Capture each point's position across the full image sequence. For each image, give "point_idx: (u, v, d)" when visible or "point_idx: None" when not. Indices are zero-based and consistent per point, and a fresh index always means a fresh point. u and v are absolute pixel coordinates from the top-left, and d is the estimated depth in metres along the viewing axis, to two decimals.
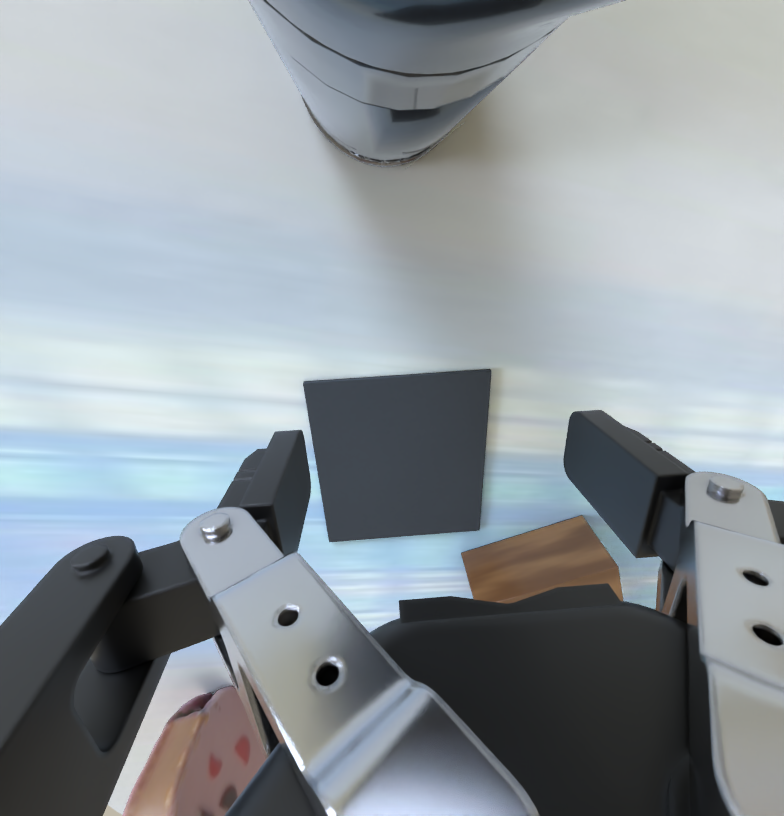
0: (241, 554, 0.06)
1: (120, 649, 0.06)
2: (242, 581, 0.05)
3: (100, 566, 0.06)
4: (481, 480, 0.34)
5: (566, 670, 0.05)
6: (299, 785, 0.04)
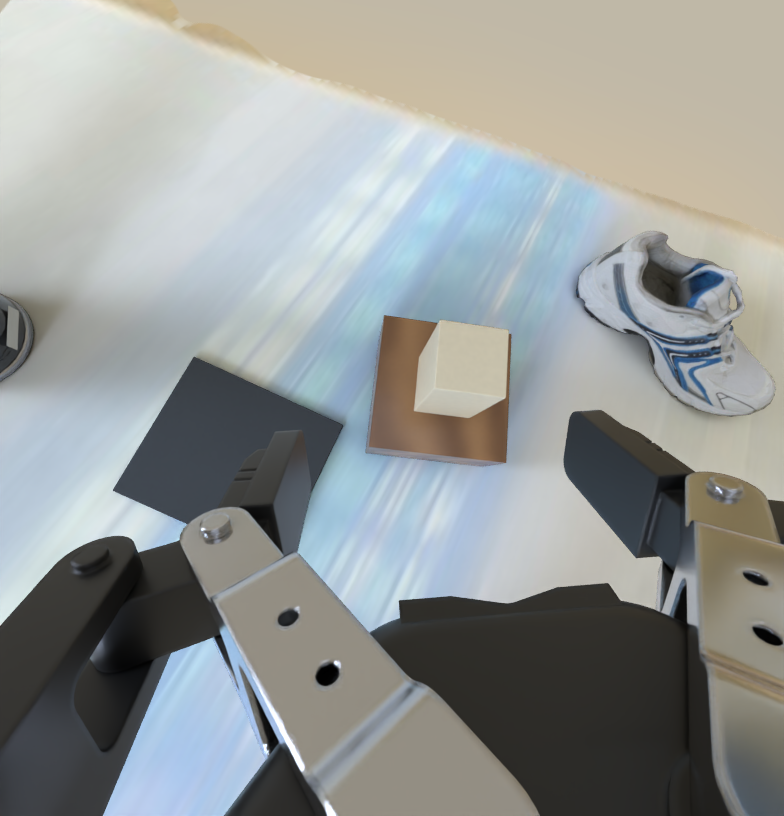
0: (241, 554, 0.06)
1: (120, 649, 0.06)
2: (242, 581, 0.05)
3: (100, 566, 0.06)
4: (288, 401, 0.38)
5: (566, 670, 0.05)
6: (299, 785, 0.04)
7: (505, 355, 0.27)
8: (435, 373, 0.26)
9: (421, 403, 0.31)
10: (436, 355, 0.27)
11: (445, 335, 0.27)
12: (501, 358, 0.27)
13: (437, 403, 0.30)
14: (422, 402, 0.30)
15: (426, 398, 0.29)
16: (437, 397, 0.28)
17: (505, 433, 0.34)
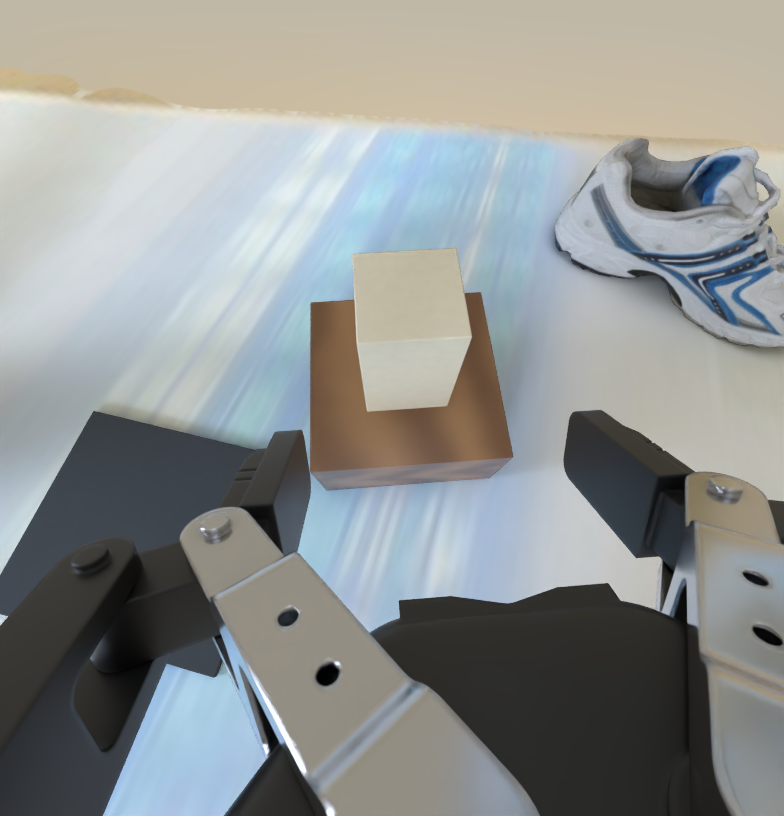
0: (241, 554, 0.06)
1: (120, 649, 0.06)
2: (242, 581, 0.05)
3: (100, 566, 0.06)
4: (215, 442, 0.29)
5: (566, 670, 0.05)
6: (299, 785, 0.04)
7: (458, 280, 0.18)
8: (356, 324, 0.17)
9: (365, 390, 0.21)
10: None
11: (363, 271, 0.18)
12: (453, 285, 0.18)
13: (385, 383, 0.20)
14: (364, 387, 0.21)
15: (363, 375, 0.19)
16: (375, 367, 0.19)
17: (502, 417, 0.24)
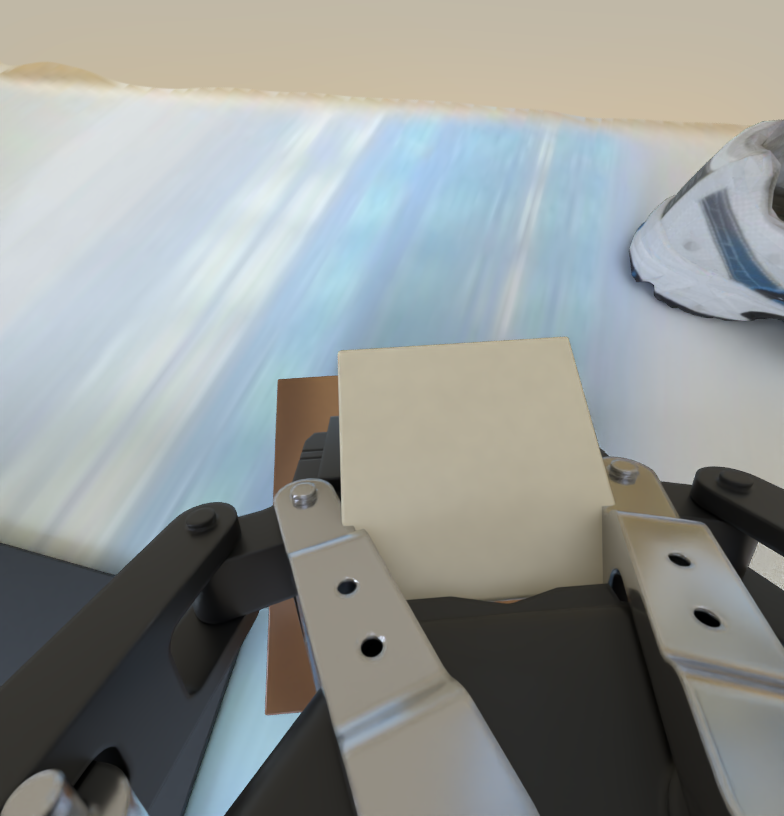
0: (334, 516, 0.07)
1: (215, 605, 0.07)
2: (315, 545, 0.06)
3: (211, 526, 0.07)
4: None
5: (566, 670, 0.05)
6: (333, 737, 0.04)
7: (583, 421, 0.08)
8: None
9: None
10: None
11: (361, 397, 0.08)
12: (573, 435, 0.08)
13: None
14: None
15: None
16: None
17: None
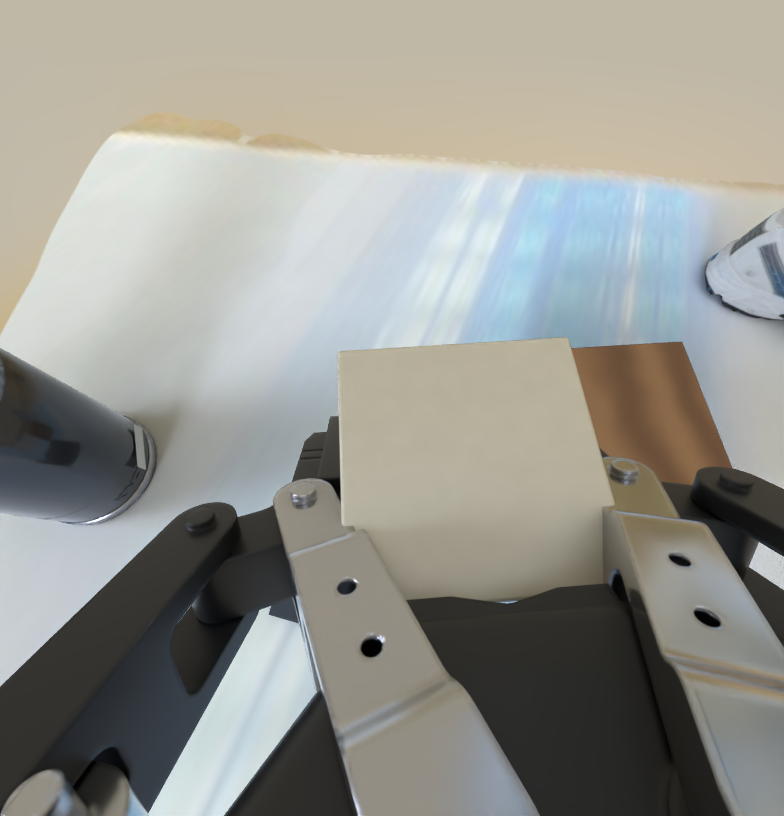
0: (334, 516, 0.07)
1: (215, 605, 0.07)
2: (314, 546, 0.06)
3: (210, 526, 0.07)
4: None
5: (566, 670, 0.05)
6: (333, 738, 0.04)
7: (583, 422, 0.08)
8: None
9: None
10: None
11: (361, 398, 0.08)
12: (573, 436, 0.08)
13: None
14: None
15: None
16: None
17: (724, 454, 0.28)
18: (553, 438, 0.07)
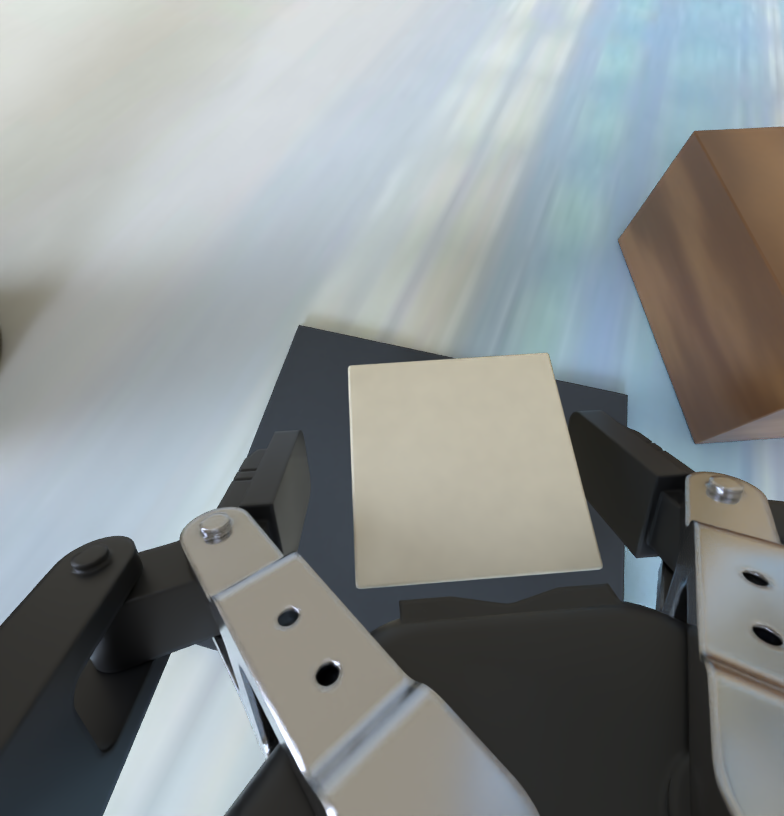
0: (241, 554, 0.06)
1: (120, 649, 0.06)
2: (242, 581, 0.05)
3: (100, 566, 0.06)
4: None
5: (566, 670, 0.05)
6: (299, 785, 0.04)
7: (560, 427, 0.09)
8: (355, 532, 0.08)
9: None
10: (352, 471, 0.09)
11: (368, 406, 0.09)
12: (550, 438, 0.09)
13: None
14: None
15: None
16: None
17: None
18: (533, 440, 0.09)
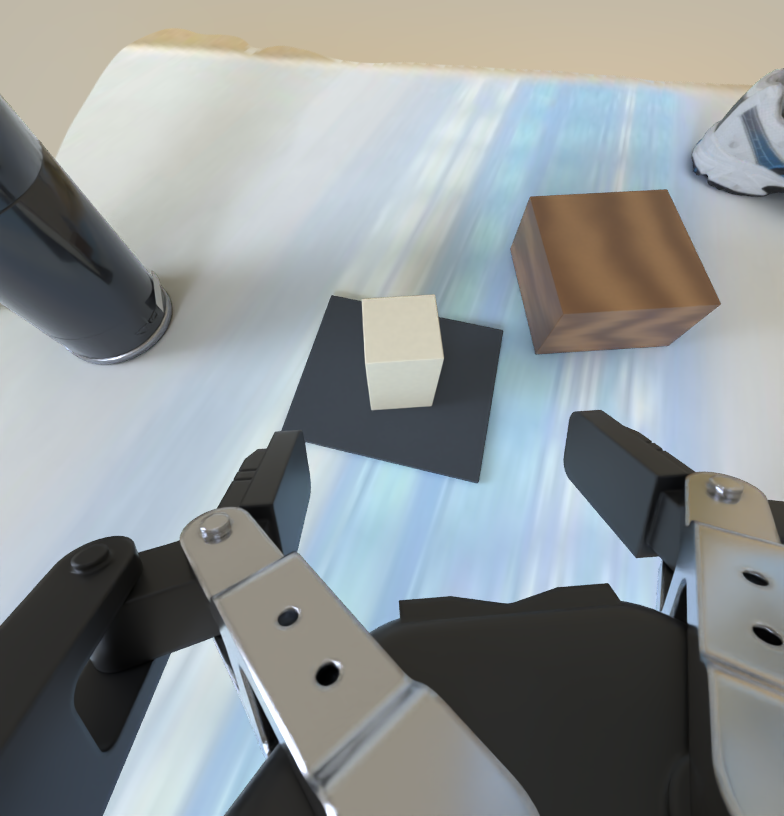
0: (241, 554, 0.06)
1: (120, 649, 0.06)
2: (242, 581, 0.05)
3: (100, 566, 0.06)
4: None
5: (566, 670, 0.05)
6: (299, 785, 0.04)
7: (435, 318, 0.26)
8: (364, 349, 0.25)
9: (370, 394, 0.29)
10: (363, 332, 0.25)
11: (369, 311, 0.26)
12: (432, 322, 0.26)
13: (384, 389, 0.28)
14: (369, 392, 0.28)
15: (369, 384, 0.27)
16: (378, 378, 0.26)
17: (706, 276, 0.30)
18: (426, 322, 0.25)
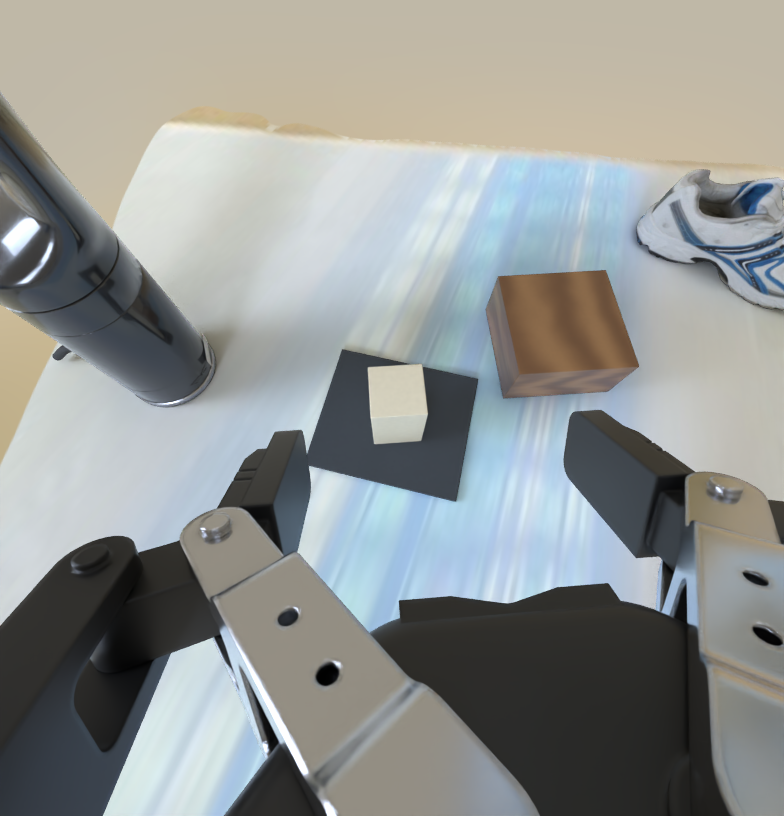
0: (241, 554, 0.06)
1: (120, 649, 0.06)
2: (242, 581, 0.05)
3: (100, 566, 0.06)
4: (427, 368, 0.44)
5: (566, 670, 0.05)
6: (299, 785, 0.04)
7: (422, 383, 0.35)
8: (370, 407, 0.34)
9: (373, 435, 0.38)
10: (369, 393, 0.35)
11: (373, 377, 0.35)
12: (419, 385, 0.35)
13: (384, 432, 0.37)
14: (373, 433, 0.38)
15: (373, 429, 0.36)
16: (379, 426, 0.36)
17: (629, 344, 0.39)
18: (415, 386, 0.35)
